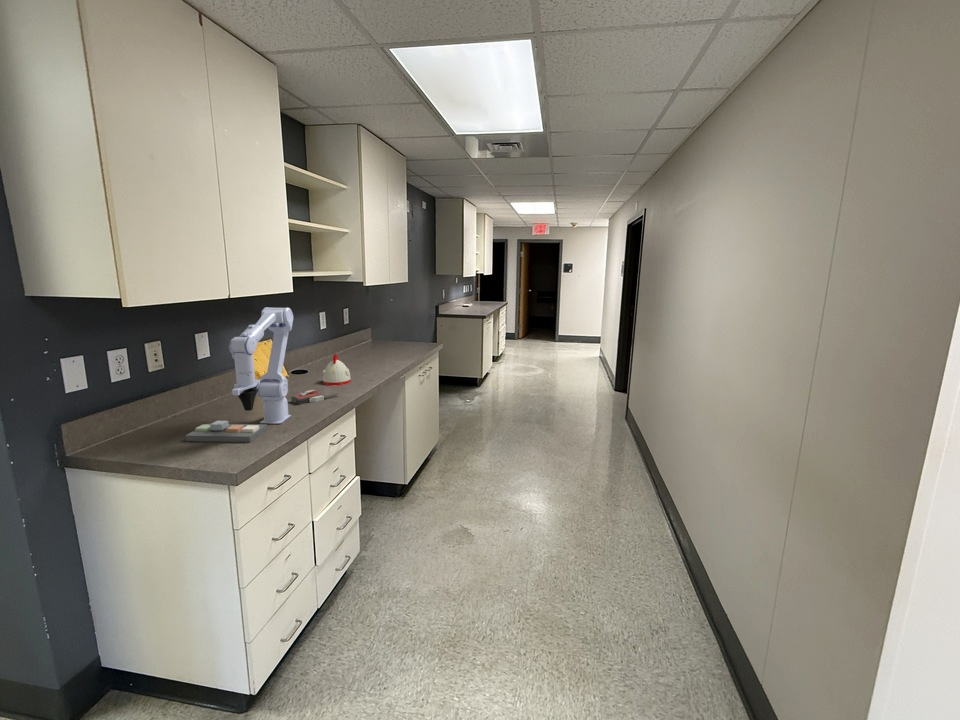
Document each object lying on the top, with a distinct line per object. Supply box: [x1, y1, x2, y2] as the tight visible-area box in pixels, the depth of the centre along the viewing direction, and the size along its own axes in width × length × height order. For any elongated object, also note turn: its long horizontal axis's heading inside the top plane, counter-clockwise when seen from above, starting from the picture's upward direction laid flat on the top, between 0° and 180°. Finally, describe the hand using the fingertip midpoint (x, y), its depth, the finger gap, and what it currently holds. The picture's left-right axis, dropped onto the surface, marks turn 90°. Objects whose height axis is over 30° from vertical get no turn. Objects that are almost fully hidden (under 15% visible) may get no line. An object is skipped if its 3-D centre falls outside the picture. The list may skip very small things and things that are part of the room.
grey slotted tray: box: [185, 423, 268, 443], centre depth 156 cm, size 12×22×2 cm, turn 89°
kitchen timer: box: [322, 353, 352, 386], centre depth 230 cm, size 14×14×15 cm
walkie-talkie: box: [291, 389, 339, 405], centre depth 201 cm, size 9×4×20 cm
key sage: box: [195, 423, 211, 432], centre depth 156 cm, size 4×4×3 cm
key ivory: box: [242, 425, 259, 433], centre depth 156 cm, size 4×4×3 cm
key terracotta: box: [226, 425, 244, 432], centre depth 156 cm, size 4×4×3 cm
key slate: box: [209, 420, 230, 432], centre depth 156 cm, size 4×4×3 cm
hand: (248, 410), depth 155 cm, fingers closed
